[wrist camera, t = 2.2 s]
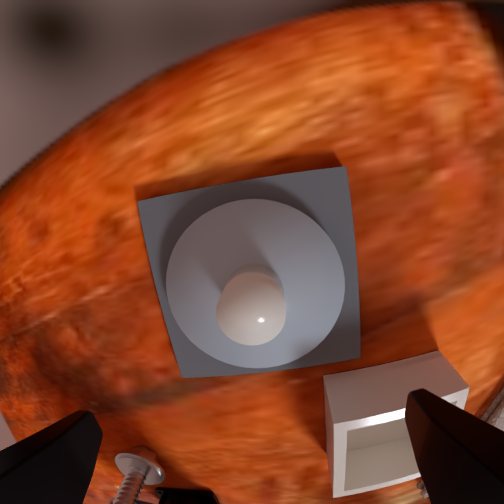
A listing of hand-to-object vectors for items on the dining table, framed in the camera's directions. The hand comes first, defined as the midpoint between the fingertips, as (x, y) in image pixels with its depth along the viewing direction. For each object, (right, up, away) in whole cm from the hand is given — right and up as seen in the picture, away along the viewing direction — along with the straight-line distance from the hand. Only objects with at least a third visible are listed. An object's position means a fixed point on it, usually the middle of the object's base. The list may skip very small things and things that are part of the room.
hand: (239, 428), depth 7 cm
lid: (0, +3, +11) cm, 11 cm away
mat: (+1, +3, +12) cm, 12 cm away
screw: (-10, -14, +17) cm, 24 cm away
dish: (+10, -8, +13) cm, 19 cm away
